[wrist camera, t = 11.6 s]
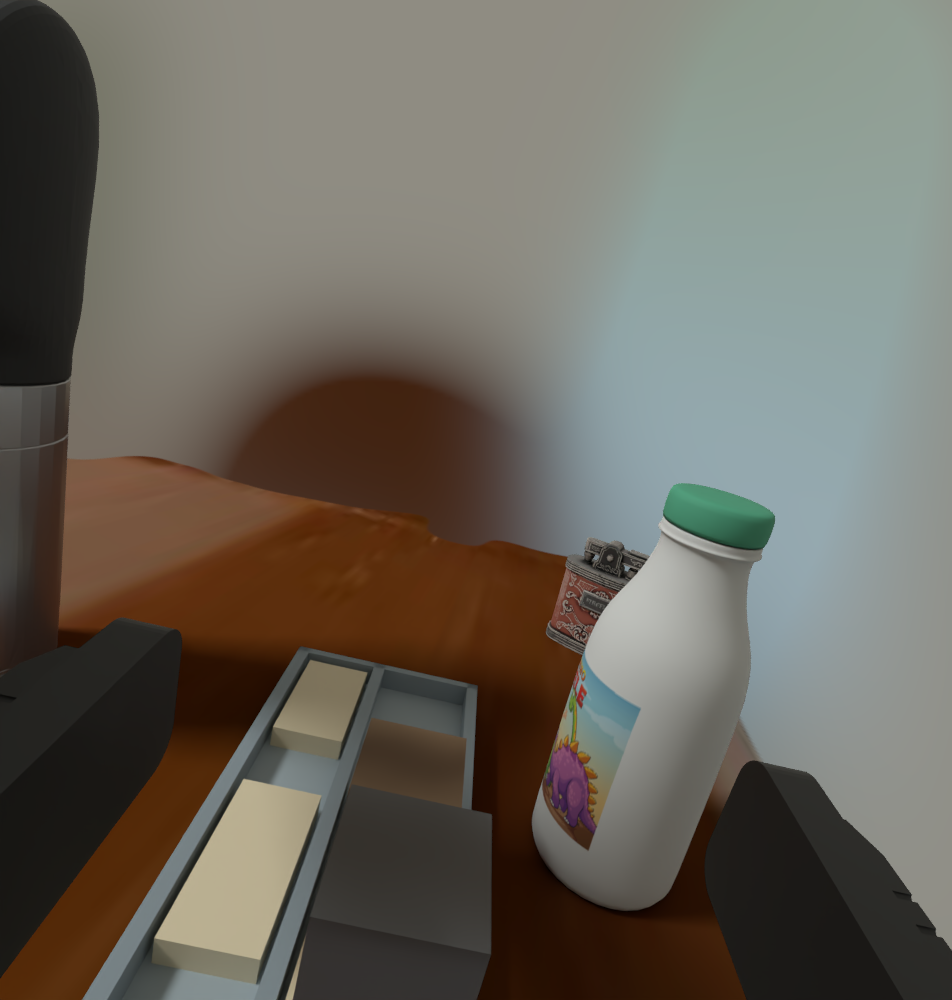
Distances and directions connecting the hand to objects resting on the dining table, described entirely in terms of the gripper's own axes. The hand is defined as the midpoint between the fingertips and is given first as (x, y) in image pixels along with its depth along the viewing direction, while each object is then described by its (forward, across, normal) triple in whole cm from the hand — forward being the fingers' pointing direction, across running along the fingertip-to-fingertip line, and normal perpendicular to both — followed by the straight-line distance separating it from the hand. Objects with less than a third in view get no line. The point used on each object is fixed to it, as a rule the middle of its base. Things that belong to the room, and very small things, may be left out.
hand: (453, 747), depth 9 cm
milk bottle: (+19, -11, +20) cm, 29 cm away
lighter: (+42, -14, +20) cm, 48 cm away
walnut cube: (+14, 0, +17) cm, 23 cm away
